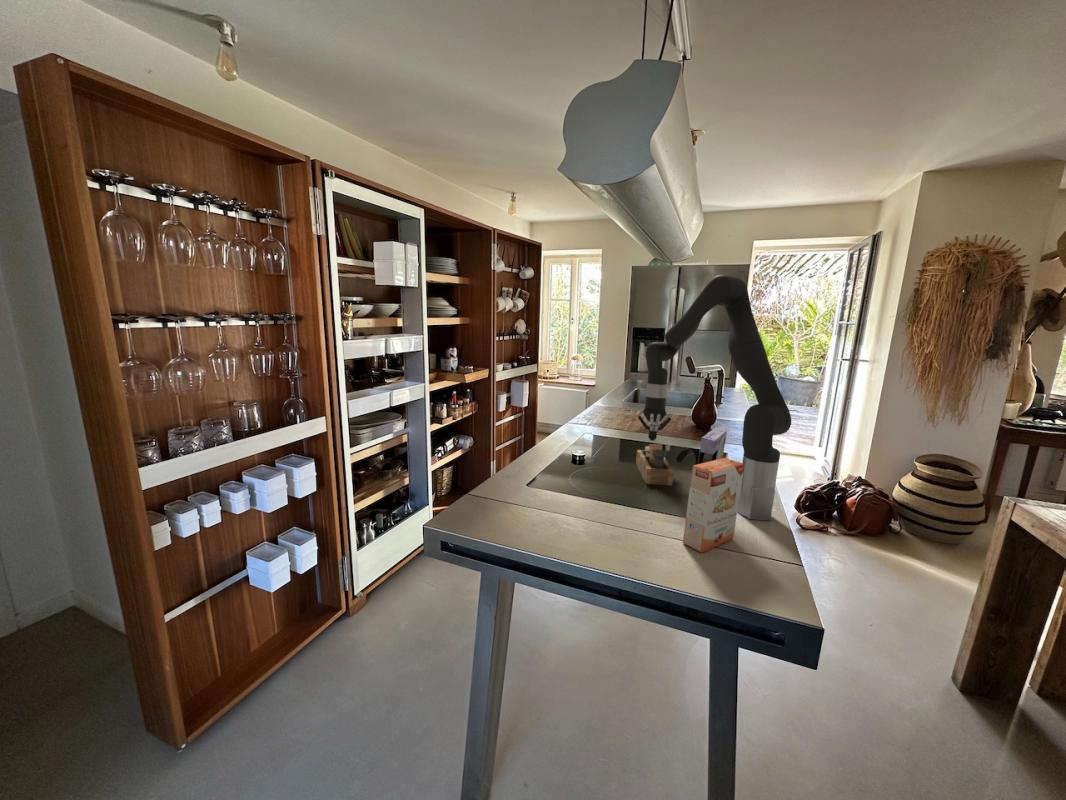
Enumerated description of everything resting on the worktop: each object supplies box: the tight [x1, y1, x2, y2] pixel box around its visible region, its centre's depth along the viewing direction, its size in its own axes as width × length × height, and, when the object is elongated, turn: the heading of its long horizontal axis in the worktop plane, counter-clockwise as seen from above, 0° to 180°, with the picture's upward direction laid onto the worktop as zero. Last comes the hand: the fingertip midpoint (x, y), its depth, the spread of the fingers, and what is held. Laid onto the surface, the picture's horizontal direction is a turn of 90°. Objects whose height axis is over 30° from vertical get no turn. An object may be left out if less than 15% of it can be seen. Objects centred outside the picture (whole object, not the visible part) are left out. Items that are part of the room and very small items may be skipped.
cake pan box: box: [697, 427, 728, 464], centre depth 149 cm, size 19×5×18 cm, turn 143°
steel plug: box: [644, 445, 650, 456], centre depth 161 cm, size 5×5×7 cm
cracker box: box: [682, 457, 745, 554], centre depth 105 cm, size 14×6×21 cm, turn 124°
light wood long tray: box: [635, 449, 675, 487], centre depth 155 cm, size 22×9×6 cm, turn 175°
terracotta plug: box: [648, 443, 663, 462], centre depth 154 cm, size 5×5×7 cm
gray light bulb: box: [652, 449, 667, 469], centre depth 147 cm, size 5×5×7 cm
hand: (652, 440), depth 160 cm, fingers closed
